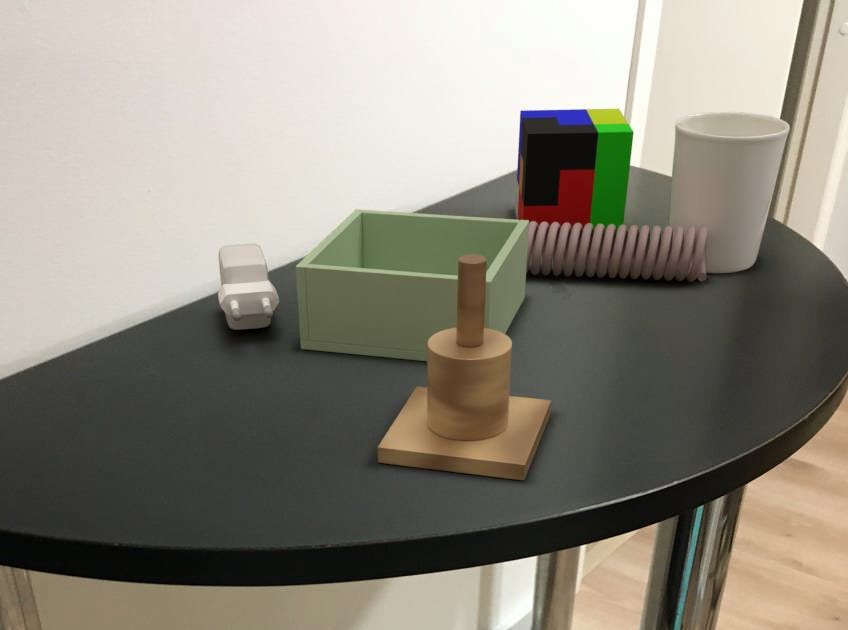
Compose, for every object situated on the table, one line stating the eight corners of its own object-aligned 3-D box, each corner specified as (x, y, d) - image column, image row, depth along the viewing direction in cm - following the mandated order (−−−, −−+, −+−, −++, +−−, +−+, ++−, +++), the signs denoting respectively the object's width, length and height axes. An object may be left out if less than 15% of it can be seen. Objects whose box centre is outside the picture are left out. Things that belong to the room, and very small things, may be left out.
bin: (524, 298, 99) (529, 220, 94) (487, 367, 87) (490, 281, 83) (358, 284, 102) (355, 209, 98) (300, 349, 91) (295, 266, 87)
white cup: (636, 259, 106) (652, 124, 99) (699, 236, 111) (719, 106, 104) (722, 284, 100) (746, 142, 93) (785, 259, 105) (812, 123, 98)
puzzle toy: (515, 210, 120) (520, 110, 114) (608, 209, 119) (618, 108, 113) (521, 240, 112) (527, 133, 106) (621, 238, 111) (633, 131, 105)
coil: (712, 222, 100) (513, 216, 103) (715, 233, 96) (508, 225, 100) (704, 275, 103) (510, 267, 106) (707, 287, 99) (505, 278, 102)
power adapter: (286, 354, 90) (281, 282, 86) (226, 359, 89) (219, 287, 86) (272, 305, 99) (266, 238, 95) (217, 310, 98) (210, 243, 95)
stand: (550, 415, 80) (564, 239, 72) (524, 481, 72) (536, 292, 65) (416, 400, 82) (416, 229, 75) (377, 462, 75) (373, 279, 67)
